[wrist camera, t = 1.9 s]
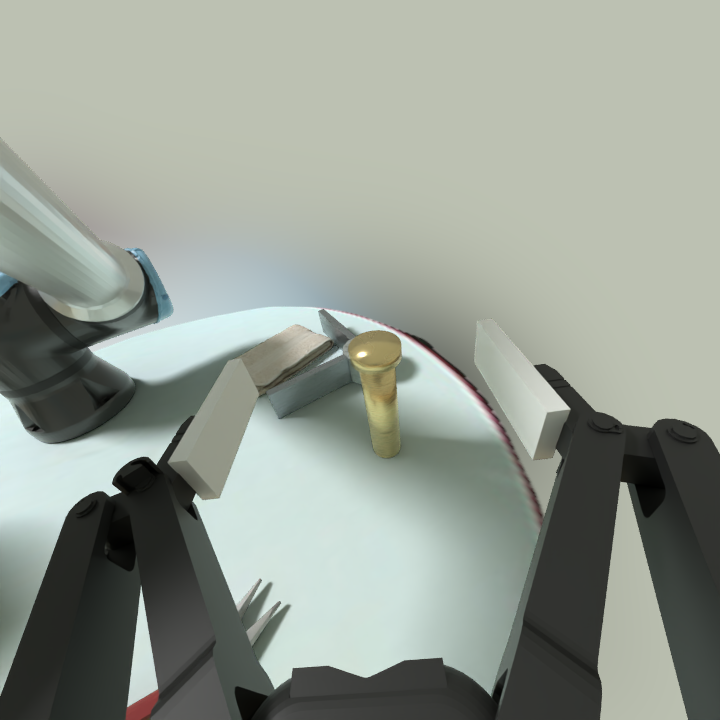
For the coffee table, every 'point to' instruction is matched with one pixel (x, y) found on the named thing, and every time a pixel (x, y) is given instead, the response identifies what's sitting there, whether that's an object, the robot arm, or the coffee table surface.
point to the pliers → (142, 709)
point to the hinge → (317, 373)
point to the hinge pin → (379, 386)
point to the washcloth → (284, 356)
